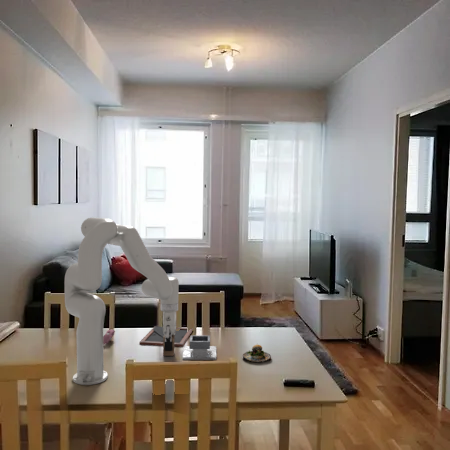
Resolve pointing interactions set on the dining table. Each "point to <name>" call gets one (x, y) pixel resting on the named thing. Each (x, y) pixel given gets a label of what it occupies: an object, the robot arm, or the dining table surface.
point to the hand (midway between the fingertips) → (168, 348)
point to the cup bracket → (199, 349)
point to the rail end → (171, 353)
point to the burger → (256, 354)
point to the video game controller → (108, 336)
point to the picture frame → (157, 336)
